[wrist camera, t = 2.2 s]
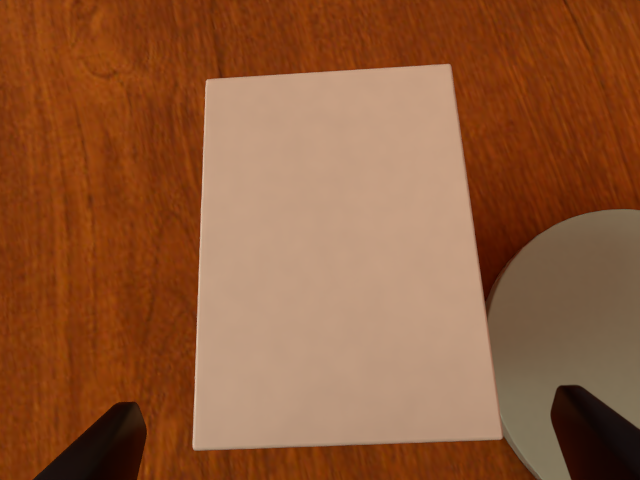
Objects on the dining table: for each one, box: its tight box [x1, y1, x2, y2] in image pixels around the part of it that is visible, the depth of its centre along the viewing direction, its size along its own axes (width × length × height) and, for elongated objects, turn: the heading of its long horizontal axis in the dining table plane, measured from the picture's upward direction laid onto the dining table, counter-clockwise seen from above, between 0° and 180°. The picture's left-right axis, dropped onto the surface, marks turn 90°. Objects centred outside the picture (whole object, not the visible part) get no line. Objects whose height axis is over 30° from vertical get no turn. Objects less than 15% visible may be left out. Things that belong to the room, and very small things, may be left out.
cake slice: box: [193, 64, 503, 451], centre depth 14 cm, size 7×5×13 cm
